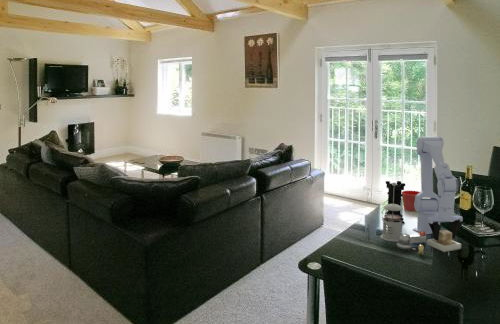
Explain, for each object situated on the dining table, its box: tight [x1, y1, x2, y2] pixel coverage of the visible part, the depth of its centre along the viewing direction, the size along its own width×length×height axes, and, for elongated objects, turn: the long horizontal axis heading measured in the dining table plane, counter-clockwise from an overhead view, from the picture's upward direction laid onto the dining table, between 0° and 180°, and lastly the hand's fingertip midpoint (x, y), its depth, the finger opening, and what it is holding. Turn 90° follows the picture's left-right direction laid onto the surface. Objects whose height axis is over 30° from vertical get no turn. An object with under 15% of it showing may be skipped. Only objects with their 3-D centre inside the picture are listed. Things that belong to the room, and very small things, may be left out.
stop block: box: [437, 229, 453, 246], centre depth 161 cm, size 4×4×6 cm
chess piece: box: [383, 180, 406, 225], centre depth 196 cm, size 8×8×20 cm
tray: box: [426, 238, 462, 253], centre depth 162 cm, size 9×9×2 cm
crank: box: [399, 231, 427, 244], centre depth 162 cm, size 11×4×4 cm, turn 100°
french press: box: [379, 182, 404, 242], centre depth 173 cm, size 10×12×25 cm
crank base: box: [396, 241, 424, 256], centre depth 159 cm, size 6×12×4 cm, turn 20°
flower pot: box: [401, 190, 423, 212], centre depth 218 cm, size 11×11×10 cm
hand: (444, 238), depth 161 cm, fingers open, 7 cm apart
